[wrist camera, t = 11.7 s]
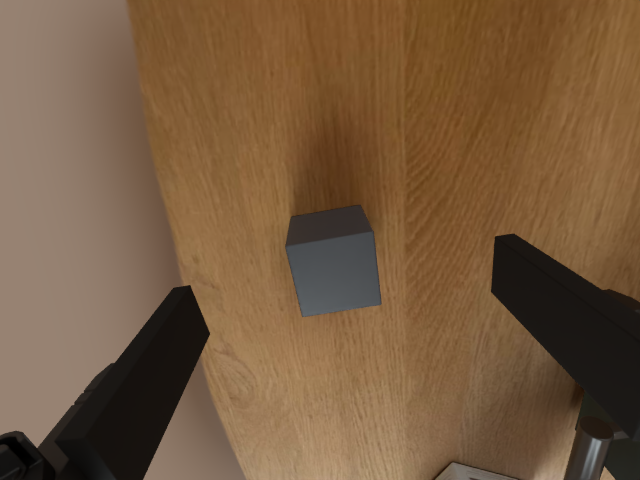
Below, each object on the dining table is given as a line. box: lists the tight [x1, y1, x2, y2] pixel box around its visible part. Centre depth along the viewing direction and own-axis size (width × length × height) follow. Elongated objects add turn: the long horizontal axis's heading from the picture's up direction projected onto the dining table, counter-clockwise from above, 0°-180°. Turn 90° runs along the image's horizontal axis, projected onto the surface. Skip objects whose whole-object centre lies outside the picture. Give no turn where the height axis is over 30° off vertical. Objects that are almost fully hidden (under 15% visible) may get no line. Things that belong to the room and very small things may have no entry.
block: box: [285, 205, 381, 317], centre depth 16 cm, size 4×4×4 cm
